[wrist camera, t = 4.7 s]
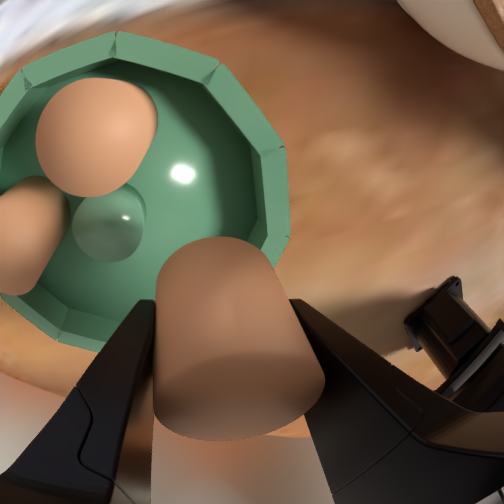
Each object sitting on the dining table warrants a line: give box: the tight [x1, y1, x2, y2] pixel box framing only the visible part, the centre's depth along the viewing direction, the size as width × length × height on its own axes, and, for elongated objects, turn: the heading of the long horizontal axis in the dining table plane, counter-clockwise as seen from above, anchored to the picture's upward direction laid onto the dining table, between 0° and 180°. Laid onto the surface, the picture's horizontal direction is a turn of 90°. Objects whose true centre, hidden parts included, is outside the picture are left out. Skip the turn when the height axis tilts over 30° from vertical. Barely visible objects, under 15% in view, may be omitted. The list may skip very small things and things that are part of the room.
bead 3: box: [153, 236, 325, 441], centre depth 7 cm, size 4×4×4 cm
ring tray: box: [0, 31, 291, 353], centre depth 12 cm, size 15×15×3 cm
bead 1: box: [0, 175, 71, 296], centre depth 10 cm, size 4×4×4 cm
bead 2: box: [36, 78, 158, 197], centre depth 9 cm, size 4×4×4 cm
